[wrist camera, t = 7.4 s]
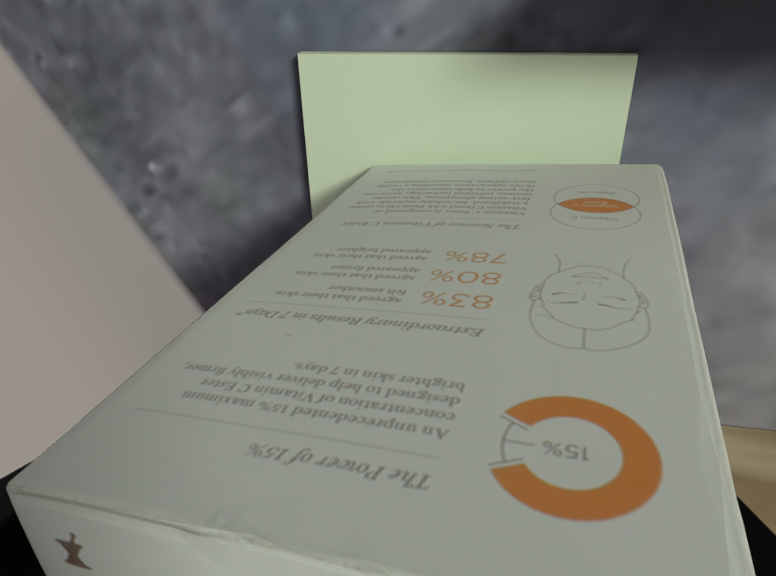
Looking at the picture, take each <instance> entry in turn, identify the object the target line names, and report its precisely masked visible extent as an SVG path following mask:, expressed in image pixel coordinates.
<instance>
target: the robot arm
mask: <svg viewBox="0 0 776 576" xmlns="http://www.w3.org/2000/svg"><path fill="white" fill-rule="evenodd" d="M33 461H34V460H33ZM33 461H32V462H33ZM32 462H30V463H32ZM30 463H28V464H26V465H24V466H23V467H21V468H19V469H17V470H16V471H14V472H12V473H10V474H9V475H7V476H5V477H3V478H1V479H0V576H46V574H45V572H44V570H43V568H42V566H41V565H40V563H39V561H38V559H37V557H36V554H35V552H34V550H33V548H32V546H31V544H30V542H29V540H28V538H27V536H26V534H25V531H24V529H23V527H22V525H21V523H20V521H19V519H18V516H17V514H16V512H15V510H14V507H13V505H12V503H11V500H10V497H9V495H8V492H7V490H6V487H7V485H8V482H9V481H11V480H12V479H13V478H14V477H15V476H16V475H18V474H19V473H20V472H21V471H22V470H23V469H25V468H26V467H27V466H28V465H29V464H30ZM736 498H737V501H738V505H739V509H740V513H741V516H742V520H743V524H744V528H745V532H746V537H747V541H748V545H749V550H750V554H751V558H752V563H753V567H754V571H755V575H756V576H776V535H775V534H774V533H773V532H772V531H771V530H770V529H769V528H768V527H767V526H766V525H765V524H764V523H763V522H762V521H761V520H760V519H759V518H758V517H757V515H756V514H755V513H754V512H753V511H752V510H751V509H750V508H749V507H748V506H747V505H746V504H745V503H744V502H743V501H742V500H741V499H740V498H739V497H738V496H737V495H736Z"/></svg>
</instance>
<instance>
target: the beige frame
mask: <svg viewBox="0 0 776 576" xmlns="http://www.w3.org/2000/svg"><path fill="white" fill-rule="evenodd" d="M721 429H722V434H723V438H724V443H725V447H726V451H727V456H728V460H729V465H730V470H731V475H732V480H733V485H734V489H735V493H736V495H737V496H738V497H739V498H740V499H741V500H742V501H743V502H744V503H745V504H746V505H747V506H748V507H749V508H750V509H751V510H752V511H753V512H754V513H755V514H756V515H757V517H758V518H759V519H760V520H761V521H762V522H763V523H764V524H765V525H766V526H767V527H768V528H769V529H770V530H771V531H772V532H773V533H774V534H775V535H776V431H770V430H761V429H751V428H742V427H732V426H723V425H721Z"/></svg>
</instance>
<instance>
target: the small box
mask: <svg viewBox="0 0 776 576" xmlns="http://www.w3.org/2000/svg"><path fill="white" fill-rule="evenodd" d="M6 490H7V492H8V495H9V497H10V500H11V503H12V505H13V507H14V510H15V512H16V514H17V516H18V519H19V521H20V523H21V525H22V527H23V529H24V531H25V534H26V536H27V538H28V540H29V542H30V544H31V546H32V548H33V550H34V552H35V554H36V557H37V559H38V561H39V563H40V565H41V566H42V568H43V570H44V572H45V574H46V576H756V575H755V571H754V567H753V563H752V558H751V554H750V550H749V545H748V541H747V537H746V532H745V528H744V524H743V520H742V516H741V513H740V509H739V505H738V501H737V498H736V493H735V489H734V485H733V480H732V475H731V470H730V465H729V460H728V456H727V451H726V447H725V443H724V438H723V434H722V429H721V425H720V420H719V416H718V412H717V407H716V402H715V398H714V393H713V389H712V384H711V380H710V375H709V371H708V366H707V361H706V357H705V352H704V348H703V344H702V339H701V335H700V331H699V327H698V322H697V317H696V313H695V309H694V304H693V299H692V295H691V290H690V285H689V281H688V276H687V271H686V266H685V261H684V256H683V252H682V247H681V243H680V238H679V233H678V229H677V225H676V220H675V216H674V212H673V208H672V203H671V199H670V195H669V190H668V186H667V182H666V178H665V175H664V172H663V169H662V167H661V166H659V165H654V164H433V165H376V166H373V167H372V168H371V169H369V170H368V171H367V172H366V173H365V174H364V175H363V176H362V177H361V178H359V179H358V180H357V181H356V182H355V183H354V184H353V185H352V186H350V187H349V188H348V189H347V190H346V191H345V192H343V193H342V194H341V195H340V196H339V197H338V198H337V199H335V200H334V201H333V202H332V203H331V204H330V205H329V206H328V207H326V208H325V209H324V210H323V211H322V212H321V213H320V214H318V215H317V216H316V217H315V218H314V219H313V220H312V221H310V222H309V223H308V224H307V225H306V226H305V227H304V228H302V229H301V230H300V231H299V232H298V233H297V234H295V235H294V236H293V237H292V238H291V239H290V240H288V241H287V242H286V243H285V244H284V245H283V246H281V247H280V248H279V249H278V250H277V251H276V252H275V253H273V254H272V255H271V256H270V257H269V258H268V259H266V260H265V261H264V262H263V263H262V264H260V265H259V266H258V267H257V268H256V269H255V270H253V271H252V272H251V273H250V274H249V275H248V276H247V277H245V278H244V279H243V280H242V281H241V282H240V283H239V284H237V285H236V286H235V287H234V288H233V289H232V290H230V291H229V292H228V293H227V294H226V295H225V296H224V297H222V298H221V299H220V300H219V301H218V302H217V303H215V304H214V305H213V306H212V307H211V308H210V309H209V310H207V311H206V312H205V313H204V314H203V315H202V316H200V317H199V318H198V319H197V320H196V321H195V322H194V323H192V324H191V325H190V326H189V327H188V328H187V329H185V330H184V331H183V332H182V333H181V334H180V335H179V336H177V337H176V338H175V339H174V340H173V341H172V342H170V343H169V344H168V345H167V346H166V347H165V348H164V349H162V350H161V351H160V352H159V353H158V354H157V355H155V356H154V357H153V358H152V359H151V360H150V361H148V362H147V363H146V364H145V365H144V366H143V367H142V368H140V369H139V370H138V371H137V372H136V373H135V374H133V376H131V377H130V378H129V379H128V380H127V381H125V382H124V383H123V384H122V385H121V386H120V387H118V388H117V389H116V390H115V391H114V392H113V393H111V394H110V395H109V396H108V397H107V398H106V399H104V400H103V401H102V402H101V403H100V404H99V405H98V406H96V407H95V408H94V409H93V410H92V411H91V412H90V413H88V414H87V415H86V416H85V417H84V418H83V419H81V420H80V421H79V422H78V423H77V424H76V425H75V426H73V427H72V428H71V429H70V430H69V431H68V432H67V433H65V434H64V435H63V436H62V437H61V438H60V439H58V440H57V441H56V442H55V443H54V444H52V445H51V446H50V447H49V448H48V449H47V450H46V451H44V452H43V453H42V454H41V455H40V456H38V458H36V459H35V460H34V461H33V462H32V463H30V464H29V465H28V466H27V467H26V468H25V469H23V470H22V471H21V472H20V473H19V474H18V475H16V476H15V477H14V478H13V479H12V480H11V481H9V482H8V485H7V487H6Z"/></svg>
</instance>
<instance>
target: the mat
mask: <svg viewBox="0 0 776 576" xmlns="http://www.w3.org/2000/svg"><path fill="white" fill-rule="evenodd" d="M637 60H638V55H637V54H636V53H501V52H307V51H302V52H300V53H298V65H299V76H300V87H301V98H302V109H303V120H304V131H305V142H306V153H307V164H308V175H309V186H310V198H311V209H312V220H313V219H314V218H315V217H316V216H317V215H318V214H320V213H321V212H322V211H323V210H324V209H325V208H326V207H328V206H329V205H330V204H331V203H332V202H333V201H334V200H335V199H337V198H338V197H339V196H340V195H341V194H342V193H343V192H345V191H346V190H347V189H348V188H349V187H350V186H352V185H353V184H354V183H355V182H356V181H357V180H358V179H359V178H361V177H362V176H363V175H364V174H365V173H366V172H367V171H368V170H369V169H371V168H372V167H373V166H376V165H433V164H619V162H620V156H621V150H622V145H623V139H624V133H625V128H626V122H627V117H628V111H629V105H630V100H631V94H632V88H633V83H634V77H635V71H636V66H637Z"/></svg>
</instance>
